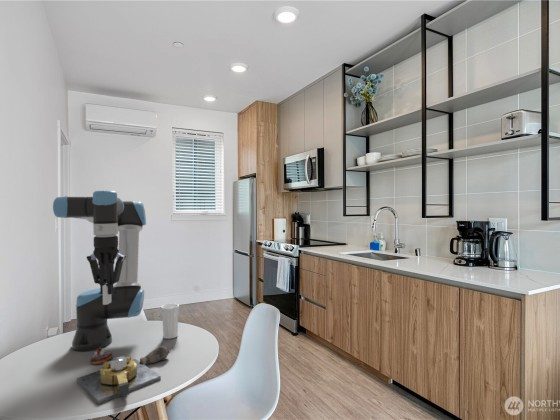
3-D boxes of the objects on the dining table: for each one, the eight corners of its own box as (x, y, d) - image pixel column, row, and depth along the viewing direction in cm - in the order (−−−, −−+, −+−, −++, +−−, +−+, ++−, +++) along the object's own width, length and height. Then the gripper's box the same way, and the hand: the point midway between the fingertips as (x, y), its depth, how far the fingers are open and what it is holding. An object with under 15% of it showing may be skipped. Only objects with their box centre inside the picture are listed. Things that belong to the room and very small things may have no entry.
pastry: (92, 358, 133) (92, 345, 133) (113, 355, 136) (113, 342, 136) (88, 367, 126) (88, 353, 126) (111, 363, 128) (111, 350, 128)
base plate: (76, 381, 115) (76, 360, 115) (135, 361, 129) (134, 343, 129) (99, 406, 100) (99, 382, 100) (162, 380, 115) (162, 359, 115)
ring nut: (99, 373, 117) (99, 361, 117) (133, 365, 123) (133, 354, 123) (103, 401, 100) (103, 387, 100) (143, 390, 105) (143, 377, 105)
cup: (176, 340, 150) (176, 308, 150) (158, 340, 150) (157, 308, 150) (181, 333, 158) (181, 303, 158) (164, 333, 158) (164, 303, 158)
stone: (140, 370, 124) (154, 357, 123) (135, 356, 127) (149, 344, 126) (160, 366, 133) (173, 354, 132) (155, 353, 136) (168, 342, 134)
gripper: (80, 236, 112) (82, 306, 113) (118, 236, 112) (119, 307, 112) (94, 234, 120) (95, 299, 121) (129, 234, 119) (130, 300, 120)
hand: (107, 303), depth 117 cm, fingers closed
